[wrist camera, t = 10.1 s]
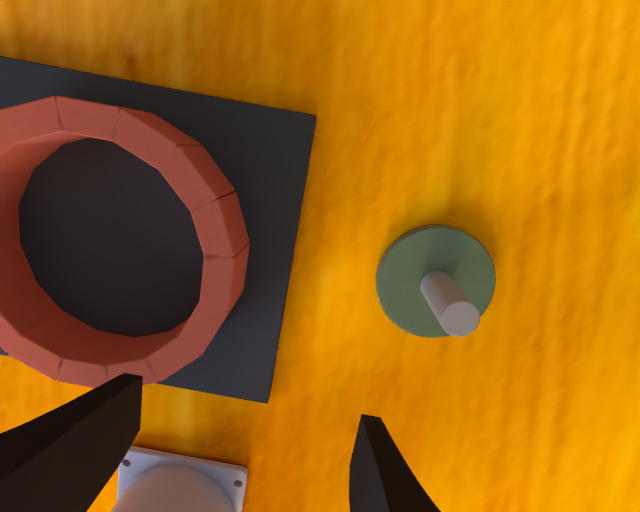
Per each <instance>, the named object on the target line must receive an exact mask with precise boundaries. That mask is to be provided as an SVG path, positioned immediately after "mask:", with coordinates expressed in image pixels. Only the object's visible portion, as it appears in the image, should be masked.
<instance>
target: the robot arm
mask: <svg viewBox="0 0 640 512" xmlns="http://www.w3.org/2000/svg"><path fill="white" fill-rule="evenodd" d="M142 384H143V376H140V375H134V374H129V373H123V374H121V375H119V376H117V377H115V378H113V379H111V380H109V381H107V382H106V383H104V384H102V385H100V386H98V387H96V388H94V389H93V390H91V391H89V392H87V393H85V394H83V395H81V396H79V397H77V398H76V399H74V400H72V401H70V402H68V403H66V404H64V405H62V406H60V407H58V408H56V409H54V410H52V411H50V412H48V413H46V414H43V415H41V416H39V417H37V418H35V419H33V420H31V421H29V422H27V423H24V424H22V425H20V426H18V427H15V428H13V429H11V430H8V431H6V432H3V433H1V434H0V512H86V511H87V510H88V509H89V507H90V506H91V504H92V503H93V502H94V500H95V499H96V497H97V496H98V495H99V493H100V492H101V490H102V489H103V488H104V486H105V485H106V483H107V482H108V481H109V479H110V478H111V476H112V475H113V474H114V472H115V471H116V469H117V468H118V466H119V470H118V490H117V503H116V504H115V506H114V507H113V509H112V511H111V512H242V509H243V503H244V497H245V491H246V485H247V478H248V470H247V469H246V468H245V467H243V466H239V465H233V464H228V463H222V462H217V461H211V460H206V459H201V458H195V457H190V456H184V455H179V454H173V453H168V452H162V451H157V450H152V449H146V448H141V447H135V446H131V445H132V443H133V441H134V439H135V437H136V436H137V434H138V432H139V430H140V422H141V403H142ZM126 459H127V460H129V461H127V460H126ZM237 480H240V482H239V481H237ZM349 503H350V512H441V511H440V510H439V509H438V508H437V506H436V505H435V504H434V503H433V501H432V500H431V499H430V497H429V496H428V495H427V493H426V492H425V490H424V489H423V487H422V486H421V485H420V483H419V482H418V480H417V479H416V477H415V476H414V474H413V473H412V471H411V469H410V468H409V466H408V465H407V463H406V461H405V460H404V458H403V457H402V455H401V453H400V452H399V450H398V448H397V446H396V445H395V443H394V441H393V439H392V437H391V436H390V434H389V432H388V430H387V428H386V426H385V424H384V423H383V421H382V419H381V418H380V417H375V416H370V415H364V414H362V415H361V419H360V423H359V428H358V432H357V436H356V441H355V445H354V449H353V453H352V458H351V462H350V475H349Z"/></svg>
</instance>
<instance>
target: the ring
mask: <svg viewBox="0 0 640 512" xmlns="http://www.w3.org/2000/svg"><path fill="white" fill-rule="evenodd" d="M89 137H92V138H97V139H103V140H108V141H113V142H115V143H116V144H118V145H120V146H121V147H123V148H124V149H126V150H128V151H129V152H131V153H132V154H134V155H136V156H137V157H139V158H140V159H142V160H143V161H145V162H147V163H148V164H150V165H151V166H153V167H155V168H156V169H158V170H159V171H160V172H161V174H162V175H163V176H164V178H165V179H166V180H167V181H168V183H169V184H170V185H171V187H172V188H173V189H174V191H175V192H176V193H177V194H178V196H179V197H180V198H181V200H182V201H183V202H184V203H185V205H186V206H187V207H188V209H189V210H190V212H191V215H192V218H193V221H194V225H195V228H196V231H197V235H198V238H199V241H200V244H201V248H202V251H203V254H204V263H203V272H202V282H201V292H200V301H199V303H198V304H197V306H196V308H195V309H194V311H193V313H192V314H191V316H190V318H189V319H187V320H186V321H184V322H183V323H181V324H180V325H178V326H177V327H175V328H174V329H172V330H171V331H168V332H163V333H157V334H152V335H147V336H141V337H136V338H135V337H130V336H124V335H119V334H113V333H108V332H102V331H98V330H96V329H94V328H92V327H91V326H89V325H87V324H85V323H84V322H82V321H80V320H78V319H77V318H75V317H73V316H71V315H70V314H68V313H66V312H64V311H62V309H61V308H60V307H59V306H58V305H57V304H56V303H55V302H54V301H53V300H52V298H51V297H50V296H49V295H48V294H47V293H46V292H45V291H44V290H43V288H42V287H41V286H40V285H39V284H38V283H37V282H36V279H35V277H34V275H33V272H32V270H31V267H30V265H29V263H28V260H27V258H26V256H25V253H24V251H23V249H22V246H21V244H20V226H19V203H20V201H21V198H22V196H23V194H24V191H25V189H26V186H27V184H28V182H29V179H30V177H31V175H32V172H33V170H34V168H36V167H37V166H38V165H39V164H40V163H41V162H43V161H44V160H45V159H46V158H47V157H48V156H50V155H51V154H52V153H53V152H54V151H56V150H57V149H58V148H59V147H60V146H61V145H63V144H65V143H69V142H73V141H77V140H81V139H85V138H89ZM234 191H235V189H234V187H233V186H232V185H231V183H230V182H229V180H228V179H227V178H226V176H225V175H224V174H223V172H222V171H221V170H220V168H219V167H218V165H217V164H216V163H215V161H214V160H213V159H212V157H211V156H210V155H209V153H208V152H207V151H206V149H205V148H204V147H203V146H201V144H200V143H199V142H197V141H196V140H194V139H193V138H191V137H190V136H188V135H186V134H185V133H183V132H182V131H180V130H179V129H177V128H176V127H174V126H172V125H171V124H169V123H168V122H166V121H165V120H163V119H162V118H160V117H158V116H157V115H155V114H152V113H150V112H145V111H139V110H134V109H128V108H123V107H118V106H112V105H107V104H102V103H96V102H91V101H85V100H80V99H75V98H69V97H64V96H51V97H47V98H43V99H39V100H35V101H31V102H27V103H24V104H20V105H16V106H12V107H8V108H4V109H0V347H1V348H2V349H3V350H4V351H5V352H8V355H9V356H11V357H13V358H15V359H17V360H19V361H20V362H22V363H24V364H26V365H28V366H30V367H31V368H33V369H35V370H37V371H39V372H41V373H43V374H44V375H46V376H48V377H50V378H52V379H54V380H57V379H58V381H59V382H65V383H70V384H76V385H81V386H87V387H92V388H96V387H98V386H100V385H102V384H104V383H106V382H107V381H109V380H111V379H113V378H115V377H117V376H119V375H121V374H123V373H129V374H134V375H140V376H143V384H142V385H144V384H150V383H156V382H159V381H163V380H164V379H166V378H167V377H169V376H170V375H172V374H173V373H175V372H177V371H178V370H180V369H181V368H183V367H184V366H186V365H187V364H189V363H191V362H192V361H194V360H195V359H197V358H198V357H200V356H201V355H202V354H203V353H204V351H205V350H206V348H207V347H208V345H209V344H210V342H211V341H212V339H213V337H214V336H215V334H216V333H217V331H218V330H219V328H220V327H221V325H222V324H223V322H224V320H225V319H226V317H227V316H228V314H229V312H230V311H231V309H232V308H233V306H234V304H235V303H236V301H237V300H238V298H239V297H240V295H241V293H242V292H243V289H244V283H245V276H246V268H247V261H248V253H249V246H250V243H249V237H248V233H247V230H246V226H245V222H244V219H243V215H242V211H241V208H240V204H239V200H238V196H237V193H236V192H234Z"/></svg>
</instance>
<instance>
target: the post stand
mask: <svg viewBox="0 0 640 512" xmlns="http://www.w3.org/2000/svg"><path fill="white" fill-rule="evenodd" d="M494 289H495V269H494V265H493V262H492V259H491V257H490V255H489V253H488V252H487V250H486V249H485V248H484V246H483V245H482V244H481V243H480V242H479V241H478V240H476V239H475V238H474V237H472V236H471V235H469V234H468V233H466V232H464V231H463V230H460V229H458V228H455V227H452V226H448V225H426V226H421V227H418V228H415V229H412V230H410V231H408V232H406V233H404V234H403V235H401V236H400V237H399V238H397V239H396V240H395V241H394V242H393V243H392V244H391V245H390V246H389V247H388V248H387V250H386V251H385V253H384V254H383V256H382V258H381V260H380V262H379V265H378V269H377V274H376V290H377V294H378V298H379V302H380V304H381V306H382V309H383V310H384V312H385V314H386V315H387V316H388V318H389V319H390V320H391V321H392V322H393V323H394V324H395V325H397V326H398V327H399V328H401V329H403V330H404V331H406V332H408V333H411V334H414V335H417V336H421V337H433V338H436V337H444V336H449V335H452V336H457V337H461V336H466V335H468V334H470V333H472V332H473V331H474V330H475V329H476V328H477V326H478V324H479V321H480V316H481V315H482V314H483V313H484V312H485V310H486V309H487V307H488V305H489V303H490V301H491V299H492V296H493V293H494Z"/></svg>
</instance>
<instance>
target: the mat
mask: <svg viewBox="0 0 640 512" xmlns="http://www.w3.org/2000/svg"><path fill="white" fill-rule="evenodd" d="M51 96H64V97H69V98H75V99H80V100H85V101H91V102H96V103H102V104H107V105H112V106H118V107H123V108H128V109H134V110H139V111H145V112H150V113H152V114H155V115H157V116H158V117H160V118H162V119H163V120H165V121H166V122H168V123H169V124H171V125H172V126H174V127H176V128H177V129H179V130H180V131H182V132H183V133H185V134H186V135H188V136H190V137H191V138H193V139H194V140H196V141H197V142H199V143H200V144H201V146H203V147H204V148H205V149H206V151H207V152H208V153H209V155H210V156H211V157H212V159H213V160H214V161H215V163H216V164H217V165H218V167H219V168H220V170H221V171H222V172H223V174H224V175H225V176H226V178H227V179H228V180H229V182H230V183H231V185H232V186H233V187H234V189H235V191H234V192H236V193H237V196H238V200H239V204H240V208H241V211H242V215H243V219H244V222H245V226H246V230H247V233H248V237H249V243H250V246H249V253H248V261H247V268H246V276H245V283H244V289H243V292H242V293H241V295H240V297H239V298H238V300H237V301H236V303H235V304H234V306H233V308H232V309H231V311H230V312H229V314H228V316H227V317H226V319H225V320H224V322H223V324H222V325H221V327H220V328H219V330H218V331H217V333H216V334H215V336H214V337H213V339H212V341H211V342H210V344H209V345H208V347H207V348H206V350H205V351H204V353H203V354H202V355H201V356H200V357H198V358H197V359H195V360H194V361H192V362H191V363H189V364H187V365H186V366H184V367H183V368H181V369H180V370H178V371H177V372H175V373H173V374H172V375H170V376H169V377H167V378H166V379H164V380H163V381H159V382H156V383H158V384H163V385H168V386H174V387H179V388H185V389H190V390H196V391H201V392H206V393H212V394H217V395H223V396H228V397H234V398H239V399H244V400H250V401H255V402H261V403H266V404H267V403H268V401H269V397H270V391H271V385H272V379H273V373H274V367H275V361H276V355H277V349H278V344H279V338H280V332H281V326H282V320H283V314H284V308H285V302H286V296H287V290H288V284H289V278H290V272H291V266H292V260H293V254H294V249H295V243H296V237H297V231H298V225H299V219H300V213H301V207H302V201H303V195H304V189H305V183H306V177H307V171H308V165H309V160H310V154H311V148H312V142H313V136H314V130H315V124H316V116H315V115H310V114H304V113H299V112H294V111H289V110H283V109H278V108H273V107H267V106H262V105H257V104H251V103H246V102H241V101H235V100H230V99H225V98H219V97H214V96H209V95H203V94H198V93H193V92H188V91H182V90H177V89H172V88H166V87H161V86H156V85H150V84H145V83H140V82H134V81H129V80H124V79H118V78H113V77H108V76H102V75H97V74H92V73H87V72H81V71H76V70H71V69H65V68H60V67H55V66H49V65H44V64H39V63H33V62H28V61H23V60H17V59H12V58H7V57H2V56H0V109H4V108H8V107H12V106H16V105H20V104H24V103H27V102H31V101H35V100H39V99H43V98H47V97H51ZM19 226H20V244H21V246H22V249H23V251H24V253H25V256H26V258H27V260H28V263H29V265H30V267H31V270H32V272H33V275H34V277H35V279H36V282H37V283H38V284H39V285H40V286H41V287H42V288H43V290H44V291H45V292H46V293H47V294H48V295H49V296H50V297H51V298H52V300H53V301H54V302H55V303H56V304H57V305H58V306H59V307H60V308H61V309H62V311H64V312H66V313H68V314H70V315H71V316H73V317H75V318H77V319H78V320H80V321H82V322H84V323H85V324H87V325H89V326H91V327H92V328H94V329H96V330H98V331H102V332H108V333H113V334H119V335H124V336H130V337H135V338H136V337H141V336H147V335H152V334H157V333H163V332H168V331H171V330H172V329H174V328H175V327H177V326H178V325H180V324H181V323H183V322H184V321H186V320H187V319H189V318H190V316H191V314H192V313H193V311H194V309H195V308H196V306H197V304H198V303H199V301H200V292H201V282H202V272H203V263H204V254H203V251H202V248H201V244H200V241H199V238H198V235H197V231H196V228H195V225H194V221H193V218H192V215H191V212H190V210H189V209H188V207H187V206H186V205H185V203H184V202H183V201H182V200H181V198H180V197H179V196H178V194H177V193H176V192H175V191H174V189H173V188H172V187H171V185H170V184H169V183H168V181H167V180H166V179H165V178H164V176H163V175H162V174H161V172H160V171H159V170H158V169H156V168H155V167H153V166H151V165H150V164H148V163H147V162H145V161H143V160H142V159H140V158H139V157H137V156H136V155H134V154H132V153H131V152H129V151H128V150H126V149H124V148H123V147H121V146H120V145H118V144H116V143H115V142H113V141H108V140H103V139H97V138H92V137H89V138H85V139H81V140H77V141H73V142H69V143H65V144H63V145H61V146H60V147H59V148H58V149H57V150H56V151H54V152H53V153H52V154H51V155H50V156H48V157H47V158H46V159H45V160H44V161H43V162H41V163H40V164H39V165H38V166H37V167H36V168H34V170H33V172H32V175H31V177H30V179H29V182H28V184H27V186H26V189H25V191H24V194H23V196H22V198H21V201H20V203H19ZM0 355H6V356H9V355H8V352H5V351H4V350H3V349H2V348H1V347H0Z"/></svg>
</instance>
